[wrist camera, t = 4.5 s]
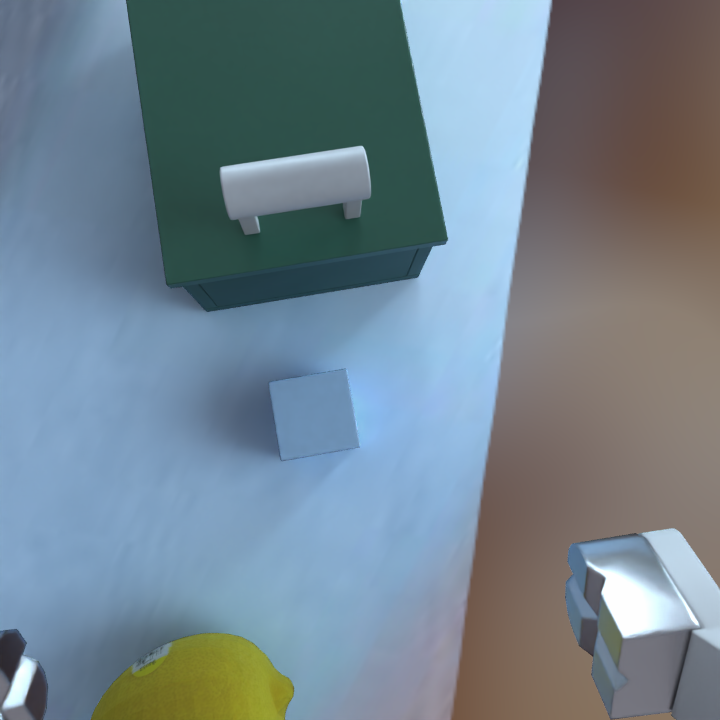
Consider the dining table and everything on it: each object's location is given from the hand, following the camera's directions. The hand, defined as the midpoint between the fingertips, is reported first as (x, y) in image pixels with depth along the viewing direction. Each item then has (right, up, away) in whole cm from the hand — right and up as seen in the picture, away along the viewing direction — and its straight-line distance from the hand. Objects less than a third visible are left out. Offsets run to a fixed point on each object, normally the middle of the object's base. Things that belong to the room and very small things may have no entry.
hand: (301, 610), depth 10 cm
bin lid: (-3, +17, +21) cm, 27 cm away
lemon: (-8, -14, +26) cm, 30 cm away
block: (-2, 0, +28) cm, 28 cm away
